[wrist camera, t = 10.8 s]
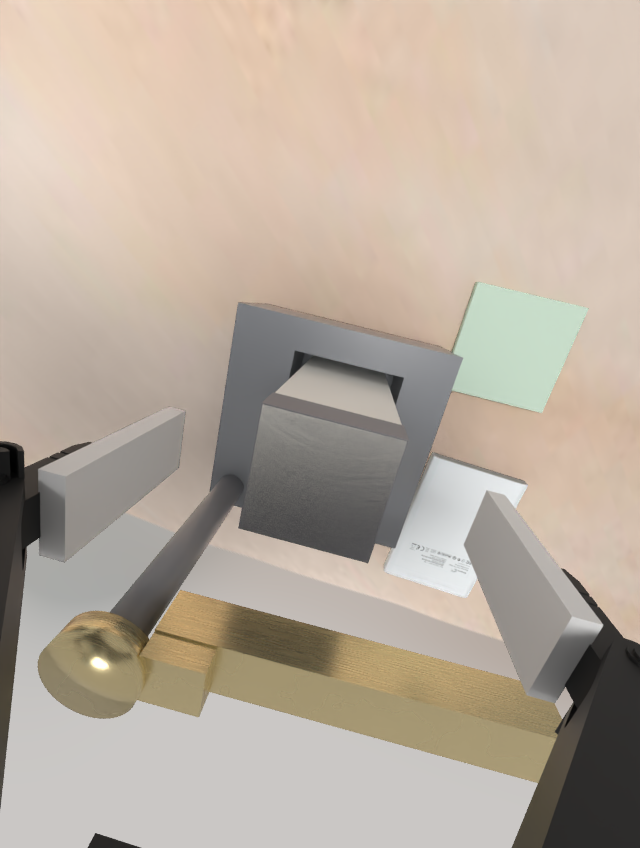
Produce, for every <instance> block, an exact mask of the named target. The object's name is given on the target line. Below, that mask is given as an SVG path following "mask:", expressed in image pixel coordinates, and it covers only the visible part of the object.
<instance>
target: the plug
mask: <svg viewBox="0 0 640 848" xmlns="http://www.w3.org/2000/svg"><path fill="white" fill-rule="evenodd" d="M408 442H409V439H408V436H407V433H406V430H405V427H404V425H402V424H401V421H400V418H399V415H398V412H397V409H396V406H395V403H394V400H393V397H392V394H391V391H390V388H389V385H388V382H387V379H386V376H385V373H382V372H378V371H374V370H370V369H366V368H362V367H358V366H354V365H350V364H346V363H342V362H338V361H334V360H330V359H326V358H322V357H318V356H313V357H312V358H311V359H310V360H309V361H308V362H306V363H305V364H304V365H303V366H302V367H301V368H300V369H299V370H298V371H297V372H296V373H295V374H294V375H293V376H292V377H291V378H290V379H289V380H288V381H287V382H286V383H284V384H283V385H282V386H281V387H280V388H279V389H278V390H277V391H276V392H275V393H274V392H273V393H272V394H270V395H269V396H268V397H267V398H266V399H265V400H264V401H263V402H262V403H261V409H260V414H259V420H258V425H257V430H256V436H255V441H254V446H253V452H252V457H251V463H250V468H249V473H248V479H247V484H246V489H245V495H244V500H243V506H242V511H241V516H240V522H239V527H238V528H240V529H243V530H247V531H251V532H254V533H258V534H262V535H265V536H269V537H273V538H277V539H280V540H284V541H288V542H291V543H295V544H299V545H303V546H306V547H310V548H314V549H317V550H321V551H325V552H329V553H332V554H336V555H340V556H343V557H347V558H351V559H354V560H358V561H362V562H366V563H368V562H369V559H370V556H371V553H372V550H373V547H374V544H375V541H376V538H377V535H378V532H379V529H380V526H381V523H382V520H383V517H384V514H385V511H386V508H387V505H388V502H389V499H390V496H391V493H392V490H393V487H394V484H395V481H396V478H397V475H398V472H399V469H400V466H401V463H402V460H403V457H404V454H405V451H406V448H407V445H408Z"/></svg>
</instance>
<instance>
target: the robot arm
mask: <svg viewBox="0 0 640 848" xmlns="http://www.w3.org/2000/svg"><path fill="white" fill-rule="evenodd" d="M185 413H186V411H184V410H180V409H177V408H173V407H167V408H165V409H162V410H160V411H158V412H156V413H154V414H152V415H150V416H148V417H146V418H144V419H142V420H139V421H137V422H135V423H133V424H131V425H129V426H127V427H125V428H123V429H121V430H119V431H116V432H114V433H112V434H110V435H108V436H106V437H104V438H102V439H100V440H98V441H96V442H93V443H92V442H87V443H83V444H78V445H74V446H71V447H69V448H67V449H65V450H62V451H61V452H60V453H56V454H54V455H52V456H50V458H48V457H47V458H45V459H43V460H41V461H38V462H36V463H34V464H32V465H30V466H27V467H25V468H24V450H23V448H22V447H21V446H19V445H18V444H15V443H10V442H2V441H0V807H1V797H2V788H3V787H2V786H3V778H4V769H5V759H6V750H7V740H8V730H9V721H10V711H11V702H12V693H13V683H14V674H15V663H16V654H17V644H18V635H19V626H20V616H21V607H22V598H23V588H24V578H25V569H26V559H27V546H28V545H29V544H31V543H32V542H34V541H35V540H37V539H38V538H39V555H40V556H44V557H47V558H51V559H55V560H58V561H61V562H66V561H67V560H68V559H69V558H71V557H72V556H73V555H74V554H76V553H77V552H78V551H79V550H80V549H82V548H83V547H84V546H85V545H86V544H88V543H89V542H90V541H91V540H92V539H94V538H95V537H96V536H97V535H98V534H99V533H101V532H102V531H103V530H104V529H106V528H107V527H108V526H109V525H110V524H112V523H113V522H114V521H115V520H116V519H118V518H119V517H120V516H121V515H122V514H124V513H125V512H126V511H127V510H128V509H130V508H131V507H132V506H133V505H135V504H136V503H137V502H138V501H139V500H141V499H142V498H143V497H144V496H145V495H147V494H148V493H149V492H150V491H151V490H153V489H154V488H155V487H156V486H157V485H159V484H160V483H161V482H162V481H163V480H165V479H166V478H167V477H168V476H169V475H171V474H172V473H173V472H174V471H175V470H177V469H178V468H179V463H180V454H181V446H182V438H183V429H184V421H185ZM464 547H465V549H466V552H467V554H468V557H469V559H470V561H471V564H472V566H473V569H474V571H475V573H476V576H477V578H478V581H479V583H480V585H481V588H482V590H483V593H484V595H485V597H486V600H487V602H488V604H489V607H490V609H491V612H492V614H493V616H494V619H495V621H496V624H497V626H498V628H499V631H500V633H501V636H502V638H503V640H504V643H505V645H506V648H507V650H508V652H509V655H510V657H511V659H512V662H513V664H514V667H515V669H516V671H517V674H518V676H519V679H520V681H521V683H522V686H523V688H524V691H525V693H526V695H527V696H531V697H534V698H538V699H541V700H545V701H548V702H552V703H556V701H557V700H558V698H559V696H560V695H561V693H562V691H563V690H564V688H565V687H566V688H567V690H568V692H569V694H570V696H571V698H572V699H573V701H574V702H573V704H572V705H571V707H570V708H569V710H568V712H567V713H566V715H565V717H564V718H563V719H562V721H561V722H560V724H559V726H558V727H557V729H556V730H555V733H557V734H558V736H557V738H556V741H555V743H554V746H553V748H552V751H551V753H550V755H549V758H548V760H547V763H546V765H545V768H544V770H543V773H542V775H541V777H540V780H539V782H538V785H537V787H536V790H535V792H534V795H533V797H532V800H531V802H530V804H529V807H528V809H527V812H526V814H525V817H524V819H523V822H522V824H521V826H520V829H519V831H518V834H517V836H516V839H515V841H514V844H513V846H512V848H640V644H638V643H636V642H633V641H631V640H628V639H625V638H623V636H622V635H621V634H620V633H619V631H618V630H617V629H616V628H615V626H614V625H613V624H612V623H611V621H610V620H609V619H608V617H607V616H606V615H605V614H604V612H603V611H602V610H601V609H600V608H599V607H597V604H596V602H595V601H594V600H593V598H592V597H590V596H589V593H588V592H587V591H586V590H585V588H584V587H583V586H582V585H581V583H580V582H579V581H578V580H577V579H575V578H574V577H573V576H572V575H571V574H570V573H568V572H567V571H566V570H565V569H562V568H560V567H559V566H558V564H557V563H556V562H555V560H554V559H553V558H552V556H551V555H550V554H549V552H548V551H547V550H546V548H545V547H544V546H543V544H542V543H541V542H540V541H539V539H538V538H537V537H536V535H535V534H534V533H533V531H532V530H531V529H530V527H529V526H528V525H527V523H526V522H525V521H524V519H523V518H522V517H521V515H520V514H519V513H518V512H517V510H516V509H515V508H514V506H513V505H512V504H511V502H510V501H509V500H508V498H507V497H506V496H505V495H503V494H499V493H496V492H492V491H488V490H486V493H485V495H484V498H483V500H482V502H481V505H480V507H479V509H478V512H477V514H476V516H475V519H474V521H473V524H472V526H471V528H470V531H469V533H468V535H467V538H466V540H465V542H464ZM88 848H140V847H137V846H134V845H131V844H128V843H125V842H121V841H118V840H115V839H112V838H109V837H106V836H103V835H100V834H97V833H95V835H94V837H93V839H92V841H91V843H90V844H89V846H88Z"/></svg>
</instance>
